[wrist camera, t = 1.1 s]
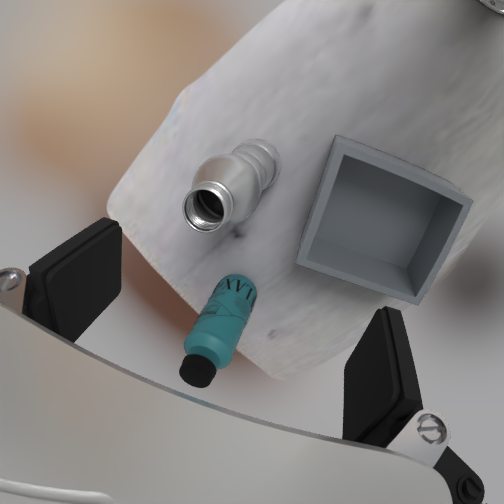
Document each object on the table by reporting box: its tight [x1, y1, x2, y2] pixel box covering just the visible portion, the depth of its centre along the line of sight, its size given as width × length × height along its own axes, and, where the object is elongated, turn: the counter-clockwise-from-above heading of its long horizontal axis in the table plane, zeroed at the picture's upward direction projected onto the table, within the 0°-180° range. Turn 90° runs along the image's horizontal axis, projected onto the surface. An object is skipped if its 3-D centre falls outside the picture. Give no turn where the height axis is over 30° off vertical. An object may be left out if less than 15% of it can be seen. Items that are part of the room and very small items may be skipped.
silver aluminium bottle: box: [183, 139, 281, 233], centre depth 32 cm, size 6×7×20 cm
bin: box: [295, 135, 473, 305], centre depth 37 cm, size 15×17×8 cm
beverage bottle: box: [179, 274, 257, 388], centre depth 42 cm, size 6×7×20 cm
